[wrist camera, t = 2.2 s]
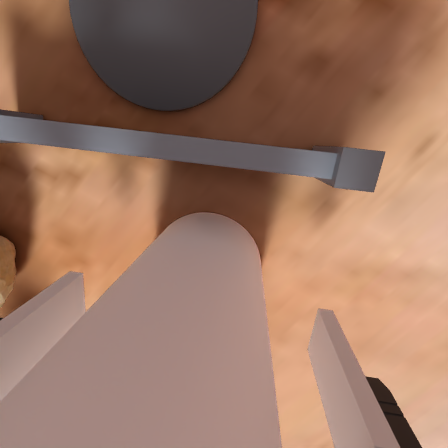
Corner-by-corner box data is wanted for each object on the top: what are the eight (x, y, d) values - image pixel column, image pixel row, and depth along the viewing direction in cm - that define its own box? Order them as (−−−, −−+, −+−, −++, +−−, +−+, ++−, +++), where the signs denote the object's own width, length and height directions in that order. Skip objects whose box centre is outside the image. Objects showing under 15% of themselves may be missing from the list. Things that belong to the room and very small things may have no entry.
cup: (246, 200, 18) (239, 494, 3) (271, 299, 20) (341, 765, 5) (139, 226, 19) (-250, 526, 4) (173, 317, 22) (-1, 731, 6)
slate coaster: (78, 101, 17) (75, 100, 17) (65, -124, 14) (60, -132, 13) (244, 119, 17) (243, 119, 16) (272, -111, 13) (273, -118, 13)
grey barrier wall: (21, 139, 18) (-73, 138, 13) (17, 112, 18) (-82, 99, 12) (334, 177, 17) (373, 192, 12) (341, 148, 17) (385, 151, 11)
